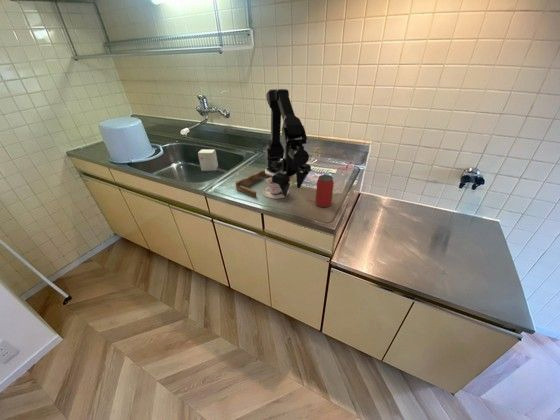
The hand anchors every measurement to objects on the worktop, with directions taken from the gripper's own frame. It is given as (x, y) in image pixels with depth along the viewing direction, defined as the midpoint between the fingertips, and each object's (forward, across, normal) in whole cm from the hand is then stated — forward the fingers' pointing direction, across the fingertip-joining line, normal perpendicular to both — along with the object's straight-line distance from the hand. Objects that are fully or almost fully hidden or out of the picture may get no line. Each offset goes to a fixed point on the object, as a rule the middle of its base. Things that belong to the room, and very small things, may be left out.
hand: (291, 191), depth 103 cm
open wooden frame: (+4, 0, -20) cm, 20 cm away
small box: (+4, +2, -56) cm, 56 cm away
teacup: (+4, -1, -10) cm, 11 cm away
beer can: (+4, -6, +12) cm, 14 cm away
